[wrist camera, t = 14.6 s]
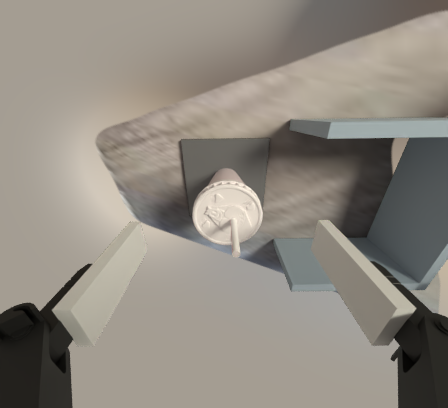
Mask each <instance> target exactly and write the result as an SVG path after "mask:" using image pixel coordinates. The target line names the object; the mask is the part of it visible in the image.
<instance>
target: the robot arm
mask: <svg viewBox="0 0 448 408" xmlns="http://www.w3.org/2000/svg"><path fill="white" fill-rule="evenodd" d="M147 251H148V249H147V245H146V242H145V238H144V234H143V230H142V226H141V223H140V222H129V224H128V225H127V226H126V227H125V228H124V229H123V230H122V232H121V233H120V234H119V235H118V236H117V237H116V238H115V239H114V241H113V242H112V243H111V244H110V245H109V246H108V247H107V249H106V250H105V251H104V252H103V253H102V254H101V255H100V256H99V258H98V259H97V260H96V261H95V262H94V263H93V264H87V265H86V266H84V267H83V268H82V269H80V270H79V271H77V273H76V274H75V275H74V276H73V277H72V278H71V280H69V281H68V282H67V283H66V284H65V285H64V287H62V288H61V290H60V291H59V292H58V293H57V294H56V295H55V296H54V297H53V298H52V299H51V300H50V301H49V302H48V303H47V304H46V306H45V307H44V308H43V309H42V310H41V311H39V310H38V309H37V308H36V306H35V305H34V304H32V303H23V304H19V305H16V306H14V307H12V308H10V309H8V310H6V311H4V312H3V313H2V314H0V408H72V392H71V391H72V389H71V368H70V352H69V349H68V346H69V345H70V343H71V342H72V340H74V342H75V343H76V344H77V346H94V345H95V343H96V342H97V340H98V338H99V336H100V334H101V333H102V331H103V329H104V328H105V326H106V324H107V322H108V321H109V319H110V317H111V315H112V313H113V311H114V310H115V308H116V306H117V304H118V303H119V301H120V299H121V298H122V296H123V294H124V292H125V290H126V289H127V287H128V285H129V283H130V282H131V280H132V278H133V276H134V274H135V272H136V271H137V269H138V267H139V266H140V264H141V262H142V260H143V259H144V257H145V255H146V253H147ZM311 251H312V252H313V254H314V256H315V257H316V259H317V260H318V262H319V263H320V265H321V266H322V268H323V270H324V271H325V273H326V274H327V276H328V277H329V279H330V281H331V282H332V284H333V285H334V287H335V288H336V290H337V292H338V293H339V294H340V296H341V298H342V299H343V301H344V302H345V304H346V306H347V307H348V309H349V310H350V312H351V313H352V315H353V317H354V318H355V320H356V321H357V323H358V324H359V326H360V327H361V329H362V331H363V332H364V334H365V335H366V337H367V338H368V340H369V342H370V343H371V345H389V344H390V342H391V341H392V340H393V339H394V338H395V340H396V341H397V342H398V344H399V345H400V346H399V348H398V349H397V350H396V351H395V353H394V354H393V355H392V357H391V360H392V361H395V359H396V358H397V357H398V408H448V318H447V317H445V316H442V315H440V314H437V313H432V312H431V311H430V310H429V309H428V308H427V307H426V306H425V305H424V304H423V303H422V302H420V301H419V300H418V299H417V298H416V297H415V296H414V295H413V294H412V293H411V292H410V291H409V290H408V289H407V288H406V287H405V286H404V285H401V282H399V281H398V280H397V279H396V278H394V276H393V275H392V274H391V273H390V272H389V271H388V270H387V269H386V268H384V267H383V266H381V265H380V264H378V263H377V262H375V261H369V260H368V259H367V258H366V257H365V256H364V255H363V254H362V253H361V252H360V251H359V250H358V249H357V248H356V247H355V246H354V245H353V244H352V243H351V242H350V241H349V240H348V239H347V238H346V237H345V236H344V235H343V234H342V233H341V232H340V231H339V230H338V229H337V228H336V227H335V226H334V225H333V224H332V223H331V222H330V221H329V220H318V223H317V227H316V231H315V234H314V238H313V242H312V246H311Z"/></svg>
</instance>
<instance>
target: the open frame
mask: <svg viewBox="0 0 448 408" xmlns="http://www.w3.org/2000/svg"><path fill="white" fill-rule="evenodd" d="M289 130H291V131H296V132H300V133H304V134H309V135H313V136H317V137H322V138H326V139H344V138H409V140H408V142H407V145H406V147H405V149H404V152H403V154H402V156H401V158H400V161H399V163H398V165H397V168H396V170H395V172H394V175H393V177H392V179H391V182H390V184H389V186H388V189H387V191H386V193H385V195H384V198H383V200H382V202H381V205H380V207H379V209H378V212H377V214H376V216H375V219H374V221H373V223H372V226H371V228H370V230H369V232H368V235H367V237H366V238H347V239H348V240H349V241H350V242H351V243H352V244H353V245H354V246H355V247H356V248H357V249H358V250H359V251H360V252H361V253H362V254H363V255H364V256H365V257H366V258H367V259H368V260H369V261H375V262H377V263H378V264H380V265H381V266H383V267H384V268H386V269H387V270H388V271H389V272H390V273H391V274H392V275H393V276H394V278H396V279H397V280H398V281H399V282H401V285H404V286H405V287H406V288H407V289H408V290H425V289H426V288H427V286H428V285H429V284H430V282H431V281H432V279H433V278H434V277H435V275H436V274H437V273H438V271H439V270H440V268H441V267H442V266H443V265H444V263H445V262H446V260H447V259H448V118H439V117H419V118H351V119H291V122H290V129H289ZM312 242H313V238H284V239H274V242H273V245H274V248H275V250H276V253H277V256H278V258H279V261H280V263H281V266H282V269H283V271H284V274H285V277H286V279H287V282H288V284H289V287H290V290H291V291H337V290H336V288H335V287H334V285H333V284H332V282H331V281H330V279H329V277H328V276H327V274H326V273H325V271H324V270H323V268H322V266H321V265H320V263H319V262H318V260H317V259H316V257H315V256H314V254H313V252H312V251H311V246H312Z"/></svg>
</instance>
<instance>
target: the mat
mask: <svg viewBox="0 0 448 408" xmlns="http://www.w3.org/2000/svg"><path fill="white" fill-rule="evenodd" d="M269 140H270V138H233V139H181V145H182V153H183V162H184V171H185V179H186V188H187V196H188V205H189V214H190V216H192V213H193V206H194V202H195V200H196V198H197V196H198V194H199V193H200V192H201V191H202V190H203V189H204V188H205V187H207V186H208V185H209V183H210V181H211V180H212V178H213V176H214V175H215V173H216V172H217V171H218V170H220V169H223V168H229V169H232V170H234V171H235V172H236V173H237V174H238V176H239V177H240V178H241V180H242V181H243V182H244V184H245V185H246V186H248V187H250V188H251V189H252V190H253V191H254V192H255V193H256V195H257V196H258V198H259V200H260V204H261V207H262V212H263V202H264V191H265V181H266V171H267V160H268V150H269Z"/></svg>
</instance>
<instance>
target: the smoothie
mask: <svg viewBox="0 0 448 408" xmlns="http://www.w3.org/2000/svg"><path fill="white" fill-rule="evenodd" d="M262 216H263V213H262V207H261V204H260V200H259V198H258V196H257V195H256V193H255V192H254V191H253V190H252V189H251V188H250V187H248V186H246V185H245V184H244V182H243V181H242V180H241V178H240V177H239V176H238V174H237V173H236V172H235V171H234V170H232V169H229V168H223V169H220V170H218V171H217V172H216V173H215V175H214V176H213V178H212V180H211V181H210V183H209V185H208V186H207V187H205V188H204V189H203V190H202V191H201V192H200V193H199V194H198V196H197V198H196V200H195V202H194V206H193V213H192V217H193V223H194V225H195V227H196V229H197V231H198V232H199V233H200V234H201V235H202V236H203V237H204V238H205V239H207V240H209V241H211V242H213V243H216V244H221V245H232V255H233V256H234V257H239V256H240V247H239V243H241V242H244V241H246V240H247V239H249V238H250V237H252V236H253V235H254V234H255V233H256V232H257V230H258V229H259V227H260V225H261V222H262Z"/></svg>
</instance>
